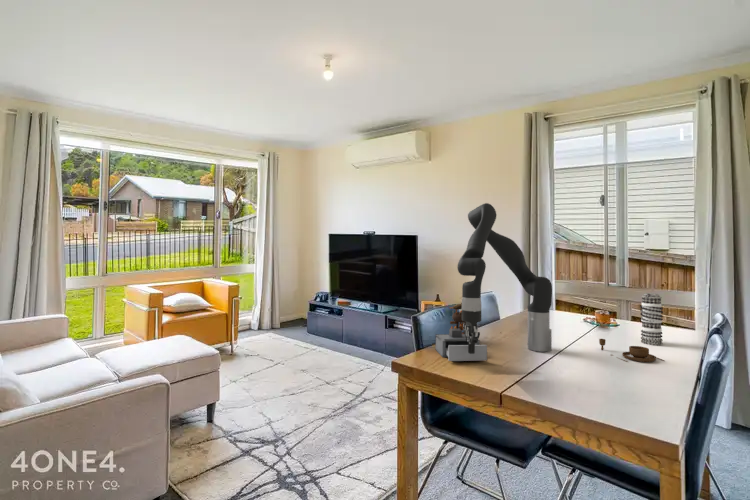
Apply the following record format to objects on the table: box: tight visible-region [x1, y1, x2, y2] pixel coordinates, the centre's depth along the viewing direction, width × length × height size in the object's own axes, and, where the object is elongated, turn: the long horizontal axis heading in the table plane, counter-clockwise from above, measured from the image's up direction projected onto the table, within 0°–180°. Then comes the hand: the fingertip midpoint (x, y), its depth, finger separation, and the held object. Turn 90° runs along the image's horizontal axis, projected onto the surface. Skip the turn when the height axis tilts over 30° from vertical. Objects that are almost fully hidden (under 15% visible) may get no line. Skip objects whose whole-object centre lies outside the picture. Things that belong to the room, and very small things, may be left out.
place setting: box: [598, 338, 665, 363], centre depth 168 cm, size 18×20×6 cm
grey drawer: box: [445, 344, 488, 362], centre depth 161 cm, size 16×13×6 cm
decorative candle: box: [639, 292, 664, 347], centre depth 186 cm, size 9×9×25 cm
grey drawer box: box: [435, 328, 481, 358], centre depth 171 cm, size 16×13×10 cm
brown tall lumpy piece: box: [448, 302, 466, 334], centre depth 191 cm, size 15×11×20 cm
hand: (471, 353), depth 151 cm, fingers closed
